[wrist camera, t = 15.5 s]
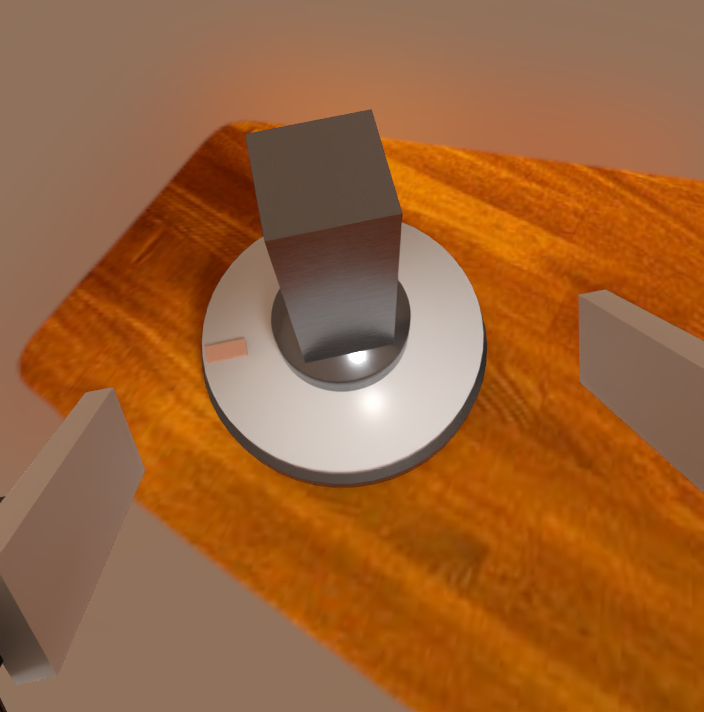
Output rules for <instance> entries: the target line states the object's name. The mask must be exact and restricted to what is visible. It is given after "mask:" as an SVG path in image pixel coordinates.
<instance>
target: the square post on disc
mask: <svg viewBox="0 0 704 712" xmlns="http://www.w3.org/2000/svg"><path fill="white" fill-rule="evenodd" d="M245 136H246V142H247V147H248V153H249V159H250V164H251V170H252V175H253V181H254V187H255V192H256V198H257V203H258V209H259V215H260V220H261V226H262V231H263V237H264V242H265V245H266V248H267V251H268V254H269V257H270V260H271V263H272V266H273V269H274V272H275V275H276V278H277V281H278V284H279V287H280V289H279V290H278V292H277V294H276V296H275V299H274V302H273V306H272V311H271V326H272V332H273V336H274V339H275V341H276V343H277V346H278V348H279V350H280V353H281V355H282V357H283V359H284V361H285V362H286V364H287V366H288V367H289V368H290V369H291V371H292V372H293V373H294V374H296V375H297V376H298V377H299V378H300V379H302V380H303V381H305V382H306V383H308V384H310V385H312V386H314V387H317V388H320V389H324V390H328V391H336V392H348V391H355V390H359V389H363V388H366V387H368V386H371V385H373V384H375V383H377V382H378V381H380V380H382V379H383V378H384V377H385V376H387V375H388V374H389V373H390V372H391V371H392V370H393V369H394V368H395V367H396V365H397V364H398V363H399V361H400V360H401V358H402V356H403V354H404V352H405V349H406V346H407V342H408V337H409V330H410V320H411V310H410V304H409V299H408V297H407V294H406V291H405V290H404V288H403V286H402V284H401V283H400V281H399V280H398V271H399V256H400V241H401V226H402V210H401V207H400V204H399V200H398V197H397V194H396V190H395V187H394V183H393V180H392V177H391V173H390V170H389V167H388V163H387V160H386V156H385V153H384V150H383V146H382V143H381V140H380V136H379V133H378V130H377V126H376V123H375V120H374V116H373V113H372V110H366V111H361V112H356V113H350V114H346V115H340V116H335V117H330V118H325V119H320V120H315V121H309V122H305V123H299V124H294V125H289V126H284V127H279V128H274V129H269V130H263V131H258V132H253V133H248V134H245Z"/></svg>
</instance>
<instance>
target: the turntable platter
mask: <svg viewBox="0 0 704 712" xmlns="http://www.w3.org/2000/svg"><path fill="white" fill-rule="evenodd" d="M398 280H399V281H400V283H401V284H402V286H403V288H404V290H405V291H406V294H407V297H408V299H409V304H410V310H411V320H410V330H409V337H408V342H407V346H406V349H405V352H404V354H403V356H402V358H401V360H400V361H399V363H398V364H397V365H396V367H395V368H394V369H393V370H392V371H391V372H390V373H389V374H388V375H387V376H385V377H384V378H383V379H382V380H380V381H378V382H377V383H375V384H373V385H371V386H368V387H366V388H363V389H359V390H355V391H348V392H336V391H328V390H324V389H320V388H317V387H314V386H312V385H310V384H308V383H306V382H305V381H303V380H302V379H300V378H299V377H298V376H297V375H296V374H294V373H293V372H292V371H291V369H290V368H289V367H288V366H287V364H286V362H285V361H284V359H283V357H282V355H281V353H280V350H279V348H278V346H277V343H276V341H275V339H274V336H273V332H272V326H271V311H272V306H273V302H274V299H275V296H276V294H277V292H278V290H279V289H280V287H279V284H278V281H277V278H276V275H275V272H274V269H273V266H272V263H271V260H270V257H269V254H268V251H267V248H266V245H265V242H264V237H261V238H260V239H258V240H257V241H255V242H254V243H253V244H252V245H251V246H249V247H248V248H247V249H246V250H245V251H243V252H242V253H241V254H240V256H239V257H238V258H237V259H236V260H235V261H234V262H233V263H232V264H231V265H230V267H229V268H228V270H227V271H226V272H225V274H224V275H223V276H222V278H221V280H220V281H219V283H218V285H217V287H216V289H215V291H214V292H213V295H212V298H211V300H210V303H209V305H208V308H207V312H206V316H205V320H204V325H203V335H202V355H203V362H204V367H205V373H206V376H207V379H208V382H209V385H210V388H211V391H212V393H213V395H214V397H215V399H216V400H217V402H218V404H219V406H220V408H221V409H222V410H223V412H224V413H225V415H226V416H227V417H228V419H229V420H230V421H231V422H232V423H233V424H234V426H235V427H236V428H237V429H238V430H239V431H240V432H241V433H242V434H243V435H244V436H245V437H246V438H247V439H248V440H249V441H250V442H252V443H253V444H254V445H255V446H257V447H258V448H259V449H261V450H262V451H263V452H265V453H267V454H268V455H270V456H272V457H274V458H275V459H277V460H279V461H282V462H284V463H286V464H289V465H291V466H294V467H296V468H300V469H304V470H308V471H312V472H318V473H326V474H356V473H363V472H370V471H374V470H378V469H381V468H385V467H388V466H391V465H394V464H396V463H398V462H400V461H403V460H405V459H407V458H409V457H411V456H412V455H414V454H416V453H417V452H419V451H421V450H422V449H424V448H425V447H427V446H428V445H429V444H430V443H432V442H433V441H434V440H435V439H436V438H438V437H439V436H440V435H441V434H442V433H443V432H444V431H445V429H446V428H447V427H448V426H449V425H450V424H451V423H452V422H453V420H454V419H455V417H456V416H457V415H458V413H459V412H460V410H461V409H462V407H463V405H464V403H465V401H466V399H467V397H468V395H469V393H470V391H471V389H472V387H473V385H474V383H475V380H476V377H477V374H478V371H479V368H480V363H481V358H482V352H483V324H482V316H481V312H480V308H479V304H478V300H477V298H476V295H475V293H474V290H473V288H472V285H471V283H470V282H469V280H468V278H467V277H466V275H465V273H464V271H463V270H462V269H461V267H460V266H459V265H458V263H457V262H456V261H455V260H454V258H453V257H452V256H451V255H450V254H449V253H448V252H447V251H446V250H445V249H444V248H443V247H442V246H441V245H439V244H438V243H437V242H435V241H434V240H433V239H432V238H430V237H429V236H428V235H426V234H424V233H422V232H421V231H419V230H417V229H416V228H414V227H412V226H409V225H407V224H405V223H403V222H402V226H401V241H400V256H399V271H398Z"/></svg>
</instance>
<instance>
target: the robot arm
mask: <svg viewBox="0 0 704 712" xmlns="http://www.w3.org/2000/svg"><path fill="white" fill-rule="evenodd" d="M579 367H580V383H581V384H582V385H583V386H585V387H586V388H587V389H588V390H589V391H590V392H591V393H592V394H593V395H595V396H596V397H597V398H598V399H599V400H600V401H601V402H602V403H604V404H605V405H606V406H607V407H608V408H609V409H610V410H611V411H613V412H614V413H615V414H616V415H617V416H618V417H619V418H620V419H621V420H623V421H624V422H625V423H626V424H627V425H628V426H629V427H630V428H632V429H633V430H634V431H635V432H636V433H637V434H638V435H639V436H640V437H642V438H643V439H644V440H645V441H646V442H647V443H648V444H649V445H651V446H652V447H653V448H654V449H655V450H656V451H657V452H658V453H659V454H661V455H662V456H663V457H664V458H665V459H666V460H667V461H668V462H670V463H671V464H672V465H673V466H674V467H675V468H676V469H677V470H678V471H680V472H681V473H682V474H683V475H684V476H685V477H686V478H687V479H689V480H690V481H691V482H692V483H693V484H694V485H695V486H696V487H697V488H699V489H700V490H701V491H702V492H703V493H704V341H702V340H700V339H698V338H697V337H695V336H693V335H691V334H689V333H687V332H685V331H683V330H681V329H679V328H678V327H676V326H674V325H672V324H670V323H668V322H666V321H664V320H662V319H660V318H658V317H657V316H655V315H653V314H651V313H649V312H647V311H645V310H643V309H641V308H639V307H638V306H636V305H634V304H632V303H630V302H628V301H626V300H624V299H622V298H620V297H619V296H617V295H615V294H613V293H611V292H609V291H607V290H601V291H596V292H591V293H586V294H581V295H579ZM144 472H145V468H144V466H143V463H142V460H141V458H140V455H139V453H138V450H137V447H136V445H135V442H134V440H133V437H132V434H131V432H130V429H129V427H128V424H127V421H126V419H125V416H124V414H123V411H122V408H121V406H120V403H119V401H118V398H117V395H116V393H115V390H114V388H113V387H111V388H106V389H101V390H96V391H91V392H86V393H85V394H84V395H83V396H82V398H81V399H80V400H79V402H78V403H77V404H76V406H75V407H74V408H73V409H72V411H71V412H70V413H69V415H68V416H67V417H66V419H65V420H64V421H63V422H62V424H61V425H60V426H59V428H58V429H57V430H56V432H55V433H54V434H53V435H52V437H51V438H50V439H49V441H48V442H47V443H46V445H45V446H44V447H43V449H42V450H41V451H40V452H39V454H38V455H37V456H36V458H35V459H34V460H33V461H32V463H31V464H30V465H29V467H28V468H27V469H26V471H25V472H24V473H23V475H22V476H21V477H20V479H19V480H18V481H17V482H16V484H15V485H14V486H13V488H12V489H11V490H10V491H9V493H8V494H7V495H6V496H5V497H0V667H1V665H2V663H3V665H4V666H5V668H6V669H7V671H8V673H9V674H10V676H11V678H12V679H13V681H14V683H15V684H16V685H18V684H23V683H28V682H33V681H38V680H43V679H47V678H52V677H57V676H58V674H59V672H60V669H61V667H62V665H63V662H64V660H65V658H66V655H67V653H68V651H69V648H70V646H71V644H72V641H73V639H74V636H75V634H76V632H77V629H78V627H79V624H80V622H81V620H82V617H83V615H84V613H85V611H86V608H87V606H88V603H89V601H90V599H91V596H92V594H93V592H94V589H95V587H96V585H97V582H98V580H99V578H100V575H101V573H102V571H103V568H104V566H105V563H106V561H107V559H108V556H109V554H110V551H111V549H112V547H113V545H114V542H115V540H116V537H117V535H118V532H119V530H120V528H121V525H122V523H123V521H124V518H125V516H126V514H127V511H128V509H129V507H130V505H131V502H132V500H133V497H134V495H135V493H136V490H137V488H138V486H139V483H140V481H141V479H142V476H143V474H144ZM0 712H7V711H6V709H5V707H4V705H3V703H2V700H1V698H0Z"/></svg>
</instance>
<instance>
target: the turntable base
mask: <svg viewBox="0 0 704 712" xmlns="http://www.w3.org/2000/svg"><path fill="white" fill-rule="evenodd" d="M480 312H481V310H480ZM481 316H482V313H481ZM482 324H483V352H482V358H481V363H480V368H479V371H478V374H477V377H476V380H475V383H474V385H473V387H472V389H471V391H470V393H469V395H468V397H467V399H466V401H465V403H464V405H463V407H462V409H461V410H460V412H459V413H458V415H457V416H456V417H455V419H454V420H453V422H452V423H451V424H450V425H449V426H448V427H447V428H446V429H445V431H444V432H443V433H442V434H441V435H440V436H439V437H438V438H436V439H435V440H434V441H433V442H432V443H430V444H429V445H428V446H427V447H425V448H424V449H422V450H421V451H419V452H417V453H416V454H414V455H412V456H411V457H409V458H407V459H405V460H403V461H400V462H398V463H396V464H394V465H391V466H388V467H385V468H381V469H378V470H374V471H370V472H363V473H356V474H326V473H318V472H312V471H308V470H304V469H300V468H296V467H294V466H291V465H289V464H286V463H284V462H282V461H279V460H277V459H275V458H274V457H272V456H270V455H268V454H267V453H265V452H263V451H262V450H261V449H259V448H258V447H257V446H255V445H254V444H253V443H252V442H250V441H249V440H248V439H247V438H246V437H245V436H244V435H243V434H242V433H241V432H240V431H239V430H238V429H237V428H236V427H235V426H234V424H233V423H232V422H231V421H230V420H229V419H228V417H227V416H226V415H225V413H224V412H223V410H222V409H221V408H220V406H219V404H218V402H217V400H216V399H215V397H214V395H213V393H212V391H211V388H210V385H209V382H208V379H207V376H206V373H205V367H204V362H203V355H202V363H203V373H204V378H205V384H206V388H207V391H208V394H209V397H210V400H211V402H212V404H213V406H214V408H215V410H216V412H217V414H218V416H219V418H220V420H221V421H222V422H223V424H224V425H225V427H226V428H227V430H228V431H229V432H230V434H231V435H232V436H233V437H234V438H235V439H236V440H237V441H238V442H239V443H240V444H241V445H242V446H243V447H244V448H245V449H246V450H247V451H248V452H249V453H250V454H252V455H253V456H254V457H255V458H257V459H258V460H259V461H260V462H262V463H263V464H265V465H266V466H268V467H270V468H271V469H273V470H275V471H276V472H278V473H280V474H283V475H285V476H287V477H290V478H292V479H295V480H297V481H301V482H305V483H309V484H313V485H318V486H326V487H334V488H336V487H360V486H366V485H373V484H377V483H380V482H384V481H387V480H391V479H394V478H396V477H398V476H401V475H403V474H405V473H408V472H410V471H412V470H413V469H415V468H417V467H418V466H420V465H422V464H423V463H425V462H426V461H428V460H429V459H430V458H431V457H433V456H434V455H435V454H436V453H438V452H439V451H440V450H441V449H442V448H443V447H444V446H445V445H446V444H447V443H448V442H449V441H450V440H451V439H452V438H453V437H454V435H455V434H456V433H457V431H458V430H459V428H460V427H461V425H462V424H463V423H464V421H465V420H466V418H467V416H468V414H469V412H470V410H471V408H472V406H473V404H474V402H475V400H476V398H477V396H478V393H479V390H480V387H481V384H482V381H483V377H484V372H485V366H486V354H487V341H486V332H485V325H484V321H483V317H482Z"/></svg>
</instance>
